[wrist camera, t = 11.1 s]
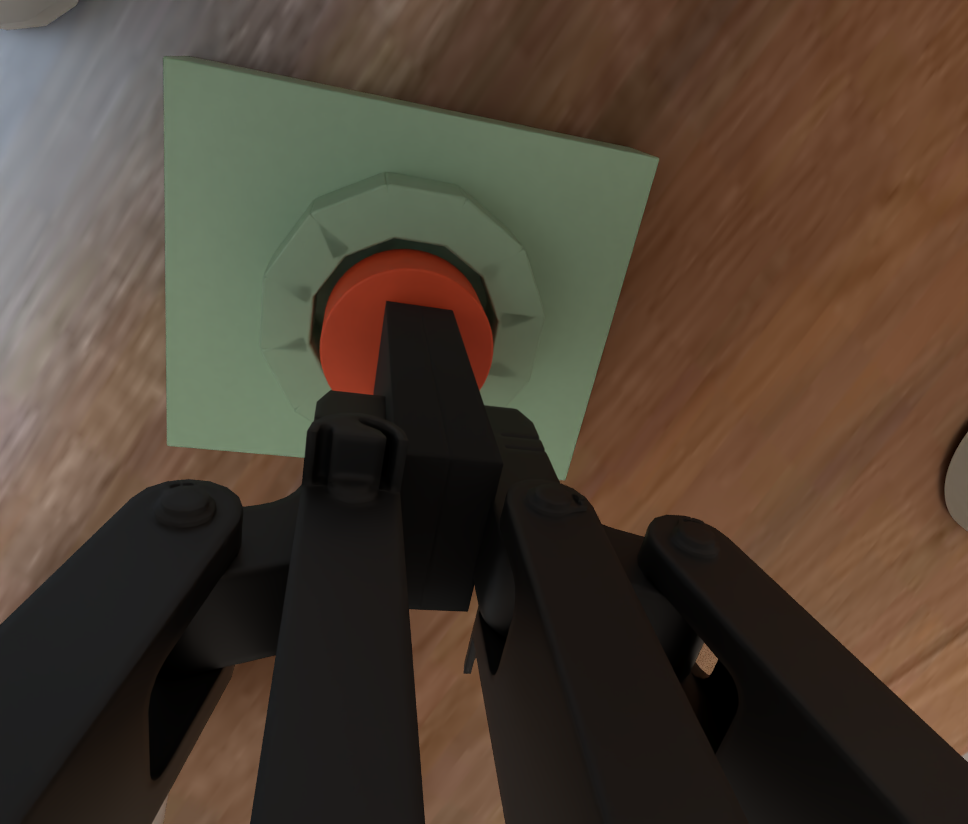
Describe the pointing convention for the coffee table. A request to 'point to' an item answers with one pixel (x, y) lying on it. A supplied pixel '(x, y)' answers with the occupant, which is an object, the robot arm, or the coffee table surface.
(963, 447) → the travel mug
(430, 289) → the button
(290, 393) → the button box
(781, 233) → the coffee table surface
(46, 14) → the rook chess piece
